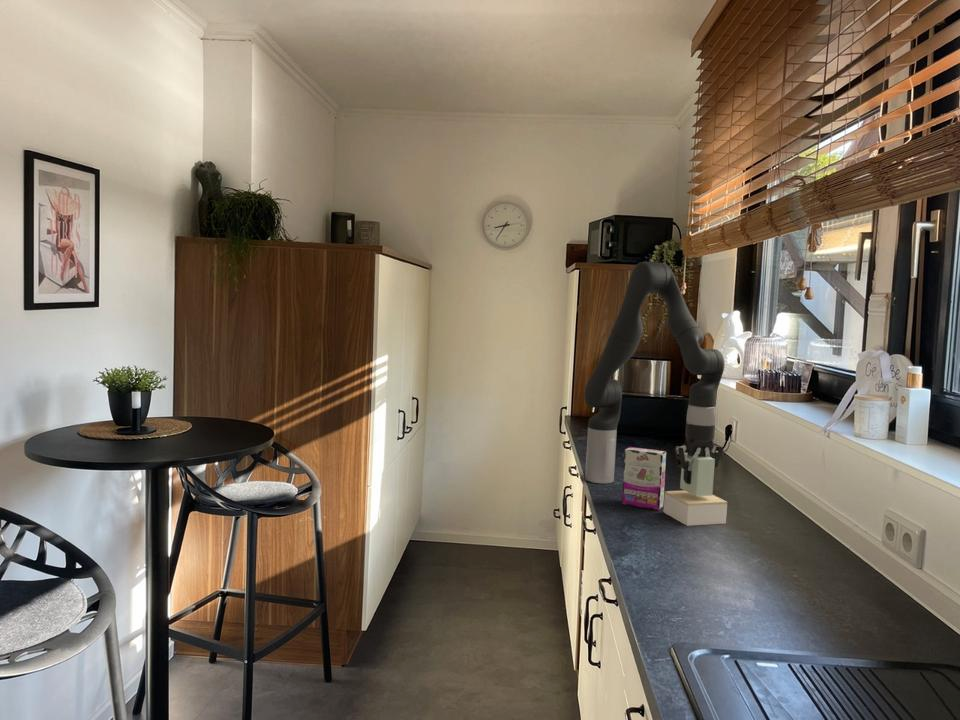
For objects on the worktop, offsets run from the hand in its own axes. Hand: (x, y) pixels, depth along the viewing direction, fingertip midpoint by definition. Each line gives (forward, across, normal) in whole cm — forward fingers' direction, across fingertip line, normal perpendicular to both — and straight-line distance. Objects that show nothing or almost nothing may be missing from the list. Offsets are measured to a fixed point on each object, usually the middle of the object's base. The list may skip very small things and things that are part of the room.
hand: (696, 482), depth 202 cm
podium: (+10, 0, 0) cm, 10 cm away
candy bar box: (+10, +9, -13) cm, 19 cm away
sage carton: (+2, 0, 0) cm, 2 cm away
